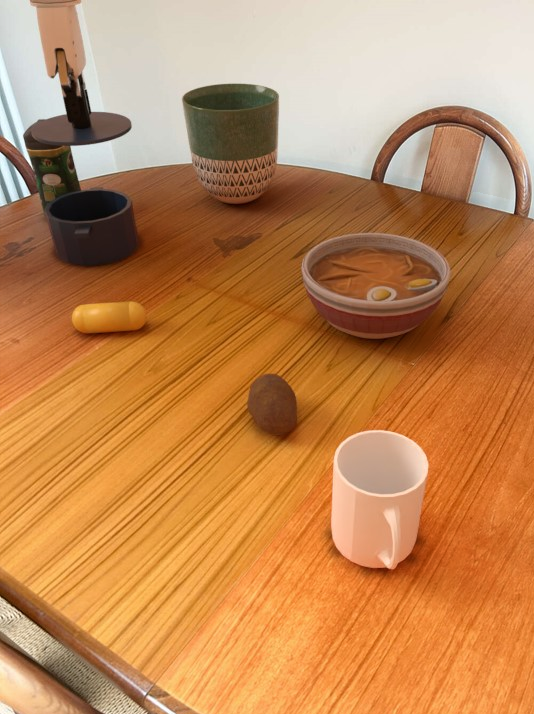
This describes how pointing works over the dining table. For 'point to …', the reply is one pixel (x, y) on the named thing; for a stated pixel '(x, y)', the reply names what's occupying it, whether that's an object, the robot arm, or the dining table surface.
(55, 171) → the coffee jar
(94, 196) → the pot
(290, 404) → the potato
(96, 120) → the lid
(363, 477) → the mug
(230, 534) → the dining table surface
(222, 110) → the planter
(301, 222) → the dining table surface
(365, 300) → the bowl
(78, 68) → the robot arm
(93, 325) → the yellow capsule
